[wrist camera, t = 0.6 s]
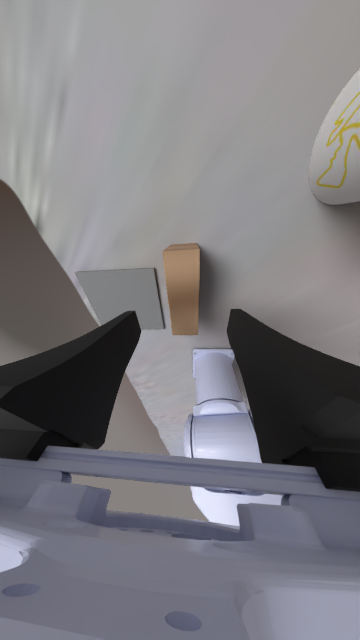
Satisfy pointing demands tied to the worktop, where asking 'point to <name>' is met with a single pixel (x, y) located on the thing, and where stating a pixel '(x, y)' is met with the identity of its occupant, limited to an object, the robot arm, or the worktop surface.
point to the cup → (338, 150)
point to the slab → (183, 286)
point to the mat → (123, 294)
